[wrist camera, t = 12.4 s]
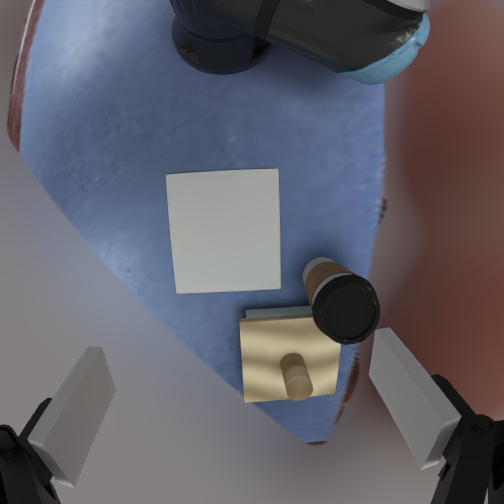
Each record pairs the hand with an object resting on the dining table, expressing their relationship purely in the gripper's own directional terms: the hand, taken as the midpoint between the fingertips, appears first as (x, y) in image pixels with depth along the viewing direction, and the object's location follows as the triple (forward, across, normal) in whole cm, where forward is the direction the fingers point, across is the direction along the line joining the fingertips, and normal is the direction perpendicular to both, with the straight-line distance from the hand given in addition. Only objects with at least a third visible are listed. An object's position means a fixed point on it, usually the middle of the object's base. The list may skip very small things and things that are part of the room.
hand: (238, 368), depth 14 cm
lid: (+29, +7, -20) cm, 36 cm away
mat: (+34, -2, -1) cm, 34 cm away
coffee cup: (+34, +12, -9) cm, 37 cm away
